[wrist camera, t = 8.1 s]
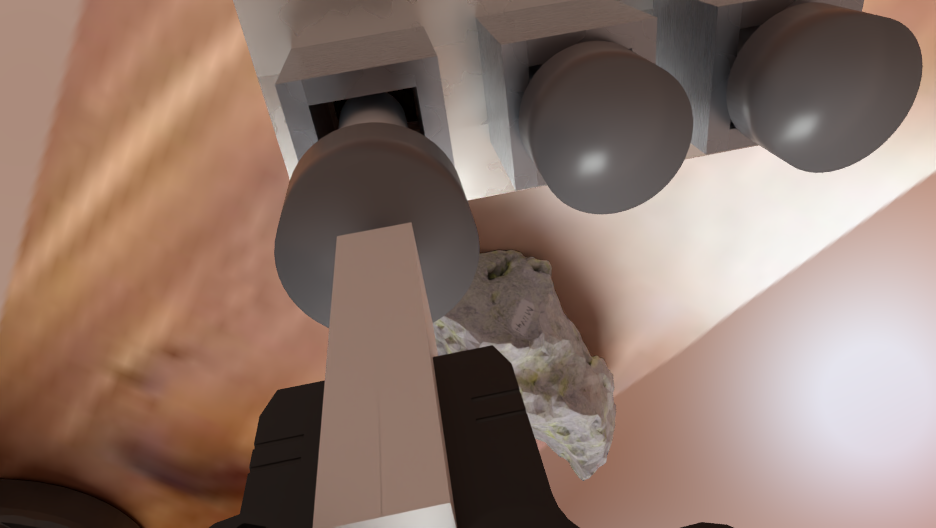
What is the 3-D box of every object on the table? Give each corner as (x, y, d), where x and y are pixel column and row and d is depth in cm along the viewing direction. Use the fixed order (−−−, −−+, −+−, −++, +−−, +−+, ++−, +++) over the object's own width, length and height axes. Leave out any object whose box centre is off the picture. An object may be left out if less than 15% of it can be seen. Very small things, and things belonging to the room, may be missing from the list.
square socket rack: (309, 210, 28) (296, 294, 22) (237, -24, 23) (193, 4, 17) (761, 125, 29) (861, 184, 23) (792, -116, 24) (933, -119, 18)
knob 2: (488, 125, 27) (544, 226, 19) (475, 15, 24) (532, 76, 16) (589, 107, 27) (688, 198, 19) (586, -4, 24) (698, 46, 16)
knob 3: (641, 97, 27) (761, 184, 19) (644, -14, 25) (783, 31, 16) (740, 79, 27) (900, 158, 19) (752, -33, 25) (941, 3, 17)
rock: (645, 371, 37) (696, 457, 31) (550, 432, 39) (582, 525, 33) (496, 198, 29) (528, 271, 24) (385, 284, 31) (390, 371, 25)
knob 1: (326, 191, 23) (307, 354, 15) (291, 69, 20) (245, 184, 12) (445, 169, 23) (490, 317, 15) (424, 46, 21) (465, 143, 13)
